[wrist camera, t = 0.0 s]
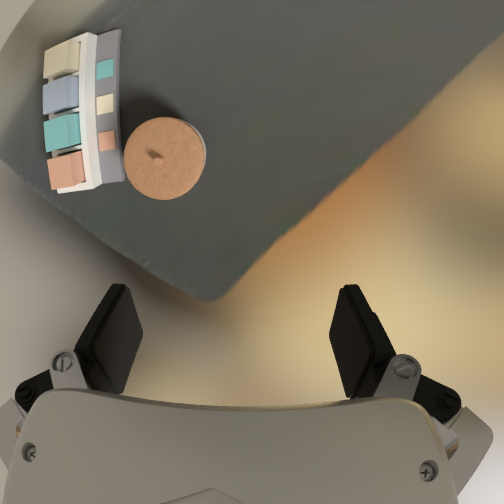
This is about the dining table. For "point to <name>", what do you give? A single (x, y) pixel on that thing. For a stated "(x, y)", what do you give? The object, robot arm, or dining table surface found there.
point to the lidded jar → (164, 157)
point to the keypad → (97, 110)
